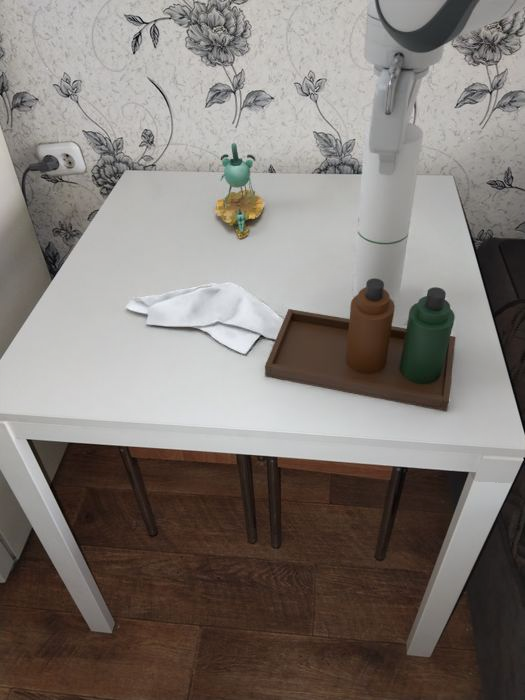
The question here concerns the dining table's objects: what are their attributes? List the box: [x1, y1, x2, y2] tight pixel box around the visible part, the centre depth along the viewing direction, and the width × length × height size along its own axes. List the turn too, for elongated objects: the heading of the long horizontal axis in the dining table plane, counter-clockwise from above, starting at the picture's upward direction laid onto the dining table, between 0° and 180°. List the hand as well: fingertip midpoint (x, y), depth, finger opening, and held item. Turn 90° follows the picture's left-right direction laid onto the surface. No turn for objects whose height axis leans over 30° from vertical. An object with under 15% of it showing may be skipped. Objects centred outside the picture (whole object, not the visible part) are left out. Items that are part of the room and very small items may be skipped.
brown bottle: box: [346, 278, 396, 374], centre depth 78 cm, size 6×6×14 cm
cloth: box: [125, 281, 285, 355], centre depth 91 cm, size 26×14×2 cm, turn 64°
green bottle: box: [400, 286, 456, 384], centre depth 77 cm, size 6×6×14 cm
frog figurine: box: [214, 142, 266, 239], centre depth 109 cm, size 10×18×15 cm, turn 169°
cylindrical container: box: [352, 122, 424, 302], centre depth 82 cm, size 7×7×25 cm
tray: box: [264, 308, 457, 412], centre depth 83 cm, size 25×13×2 cm, turn 73°
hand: (391, 156), depth 76 cm, fingers closed on cylindrical container, 7 cm apart
